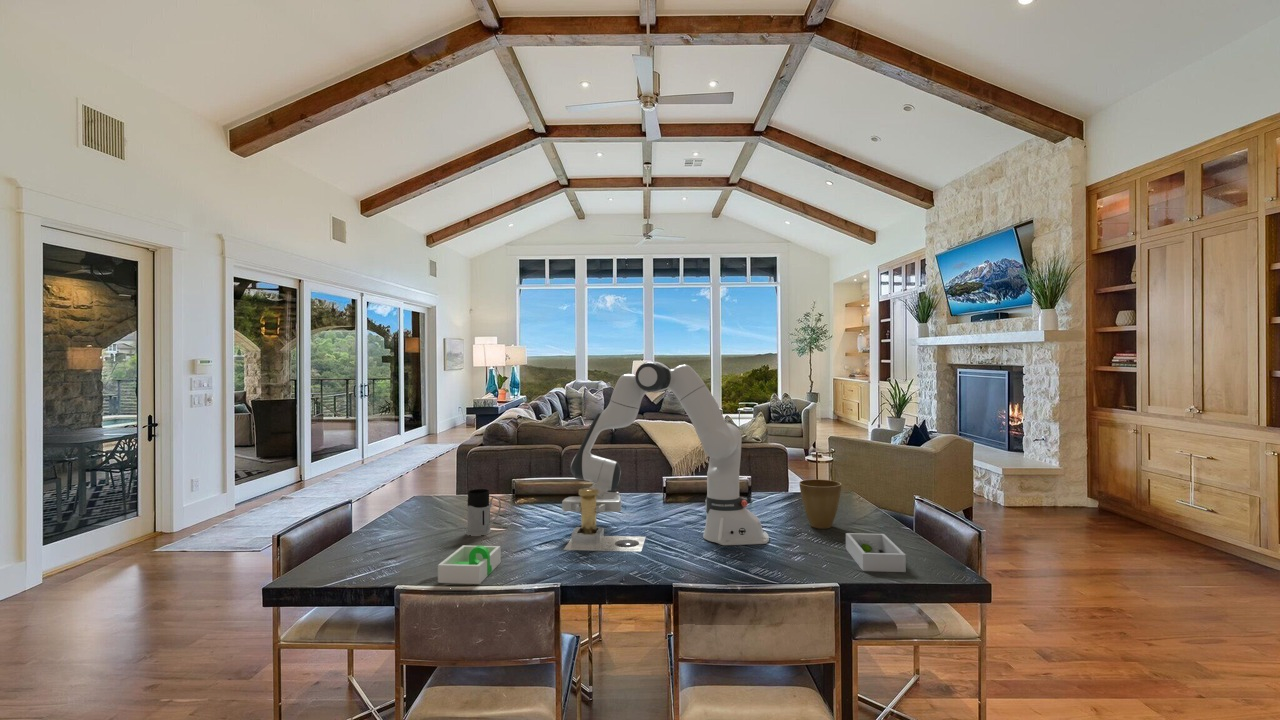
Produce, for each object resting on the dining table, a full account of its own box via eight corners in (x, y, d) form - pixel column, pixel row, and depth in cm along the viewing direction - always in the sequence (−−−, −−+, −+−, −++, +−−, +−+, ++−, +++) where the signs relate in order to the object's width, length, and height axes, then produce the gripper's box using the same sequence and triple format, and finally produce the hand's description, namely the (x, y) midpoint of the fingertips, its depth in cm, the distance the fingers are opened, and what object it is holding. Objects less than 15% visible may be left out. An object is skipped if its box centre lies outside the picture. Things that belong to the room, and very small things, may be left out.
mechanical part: (494, 568, 181) (493, 541, 181) (488, 575, 175) (487, 547, 175) (454, 568, 182) (454, 541, 182) (447, 575, 176) (446, 547, 176)
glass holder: (477, 528, 225) (477, 487, 225) (508, 532, 219) (508, 491, 219) (461, 534, 218) (460, 492, 218) (492, 539, 211) (492, 496, 211)
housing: (645, 541, 208) (645, 525, 208) (641, 556, 192) (641, 538, 192) (573, 539, 210) (573, 523, 210) (563, 554, 194) (563, 537, 194)
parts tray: (500, 562, 187) (500, 546, 187) (479, 584, 169) (479, 566, 169) (463, 561, 188) (462, 545, 188) (437, 582, 170) (437, 565, 170)
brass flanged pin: (600, 535, 204) (599, 487, 204) (596, 541, 198) (596, 492, 198) (581, 535, 205) (580, 487, 205) (577, 540, 199) (576, 491, 199)
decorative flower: (886, 545, 178) (856, 531, 192) (873, 561, 176) (843, 546, 191) (902, 562, 179) (871, 547, 193) (889, 579, 178) (859, 562, 192)
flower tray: (884, 549, 196) (883, 533, 196) (905, 572, 175) (905, 554, 175) (845, 548, 197) (845, 533, 197) (862, 571, 177) (862, 553, 177)
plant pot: (846, 524, 226) (845, 481, 226) (835, 534, 214) (835, 488, 214) (806, 518, 234) (806, 477, 234) (794, 528, 222) (793, 484, 222)
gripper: (566, 491, 215) (557, 500, 202) (623, 491, 213) (618, 500, 200) (566, 508, 215) (557, 519, 202) (623, 509, 213) (618, 520, 200)
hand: (588, 510), depth 201 cm, fingers closed on brass flanged pin, 5 cm apart
